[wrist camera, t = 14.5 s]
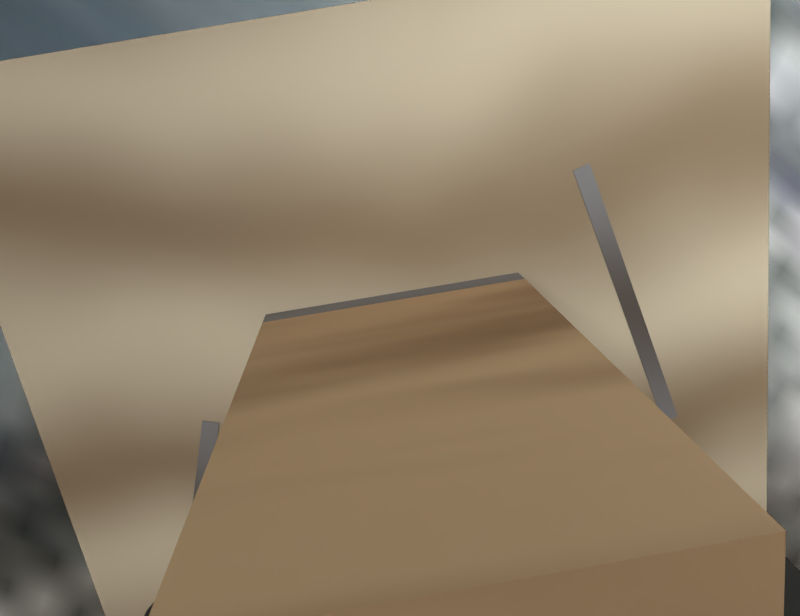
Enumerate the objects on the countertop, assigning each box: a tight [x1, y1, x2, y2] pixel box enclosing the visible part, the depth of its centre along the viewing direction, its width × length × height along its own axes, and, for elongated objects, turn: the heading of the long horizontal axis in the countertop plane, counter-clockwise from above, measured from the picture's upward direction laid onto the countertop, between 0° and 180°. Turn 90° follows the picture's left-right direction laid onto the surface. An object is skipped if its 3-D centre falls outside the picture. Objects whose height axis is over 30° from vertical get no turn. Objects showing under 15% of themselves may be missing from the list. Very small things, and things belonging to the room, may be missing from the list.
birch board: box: [0, 0, 770, 616], centre depth 17 cm, size 21×18×1 cm
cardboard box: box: [149, 273, 786, 616], centre depth 12 cm, size 7×6×10 cm
